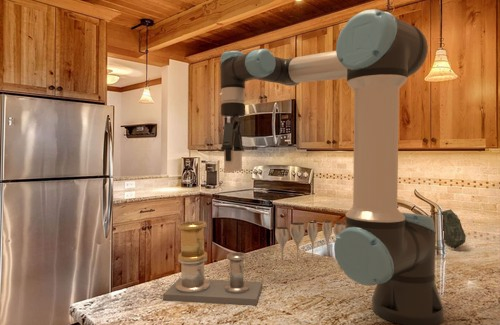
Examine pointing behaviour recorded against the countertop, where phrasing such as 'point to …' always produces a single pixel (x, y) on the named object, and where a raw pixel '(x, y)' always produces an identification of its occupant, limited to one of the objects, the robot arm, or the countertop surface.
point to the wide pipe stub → (192, 277)
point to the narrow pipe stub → (236, 274)
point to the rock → (452, 229)
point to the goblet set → (299, 232)
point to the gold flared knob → (192, 241)
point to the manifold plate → (217, 294)
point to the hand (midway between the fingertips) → (233, 171)
